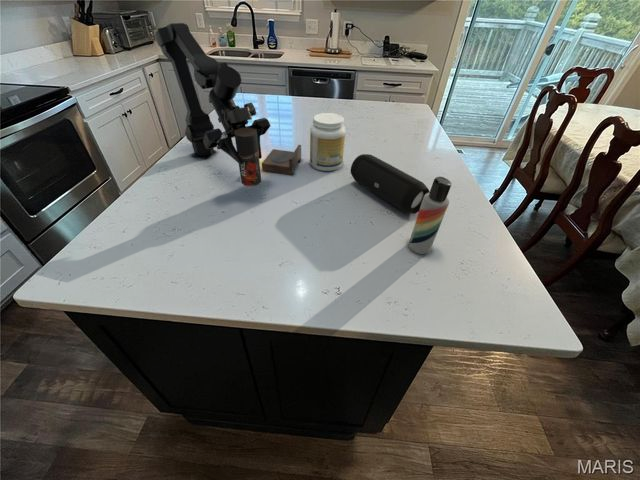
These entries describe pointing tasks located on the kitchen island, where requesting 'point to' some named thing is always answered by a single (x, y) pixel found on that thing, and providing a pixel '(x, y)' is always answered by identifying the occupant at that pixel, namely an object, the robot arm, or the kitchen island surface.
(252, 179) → the deodorant
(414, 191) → the portable speaker
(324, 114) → the supplement tub
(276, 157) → the brown l-shaped stand
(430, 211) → the lotion bottle
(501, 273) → the kitchen island surface
